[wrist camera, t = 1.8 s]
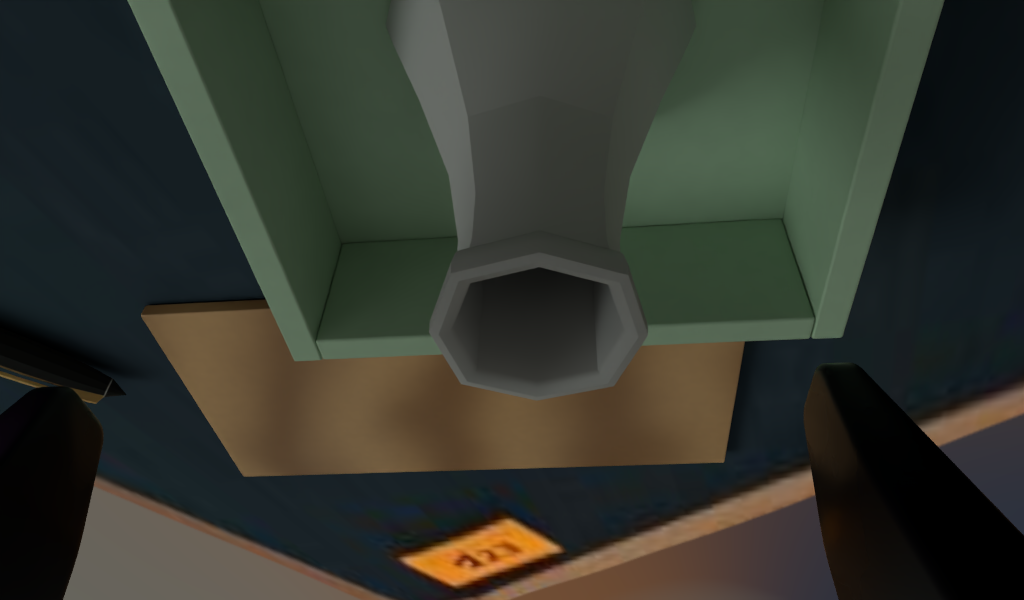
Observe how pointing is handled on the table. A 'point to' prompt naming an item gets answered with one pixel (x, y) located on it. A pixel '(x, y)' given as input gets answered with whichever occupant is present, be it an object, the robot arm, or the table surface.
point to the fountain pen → (52, 368)
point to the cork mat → (433, 404)
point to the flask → (539, 177)
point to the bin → (652, 186)
